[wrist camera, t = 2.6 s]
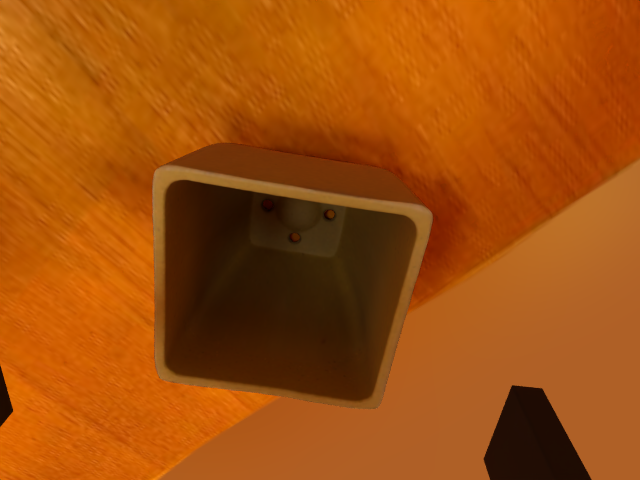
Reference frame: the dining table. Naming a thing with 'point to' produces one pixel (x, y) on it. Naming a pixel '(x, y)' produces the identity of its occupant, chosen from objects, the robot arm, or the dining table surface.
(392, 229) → the flower pot
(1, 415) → the robot arm
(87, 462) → the dining table surface
